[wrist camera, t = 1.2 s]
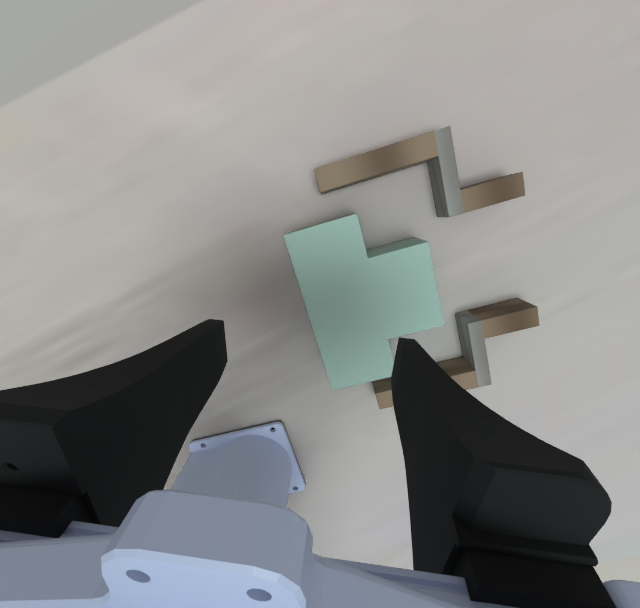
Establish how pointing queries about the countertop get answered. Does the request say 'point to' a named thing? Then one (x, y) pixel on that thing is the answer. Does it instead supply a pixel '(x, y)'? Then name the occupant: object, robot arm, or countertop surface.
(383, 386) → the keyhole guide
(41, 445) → the robot arm
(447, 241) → the countertop surface
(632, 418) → the countertop surface
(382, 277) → the t slider
